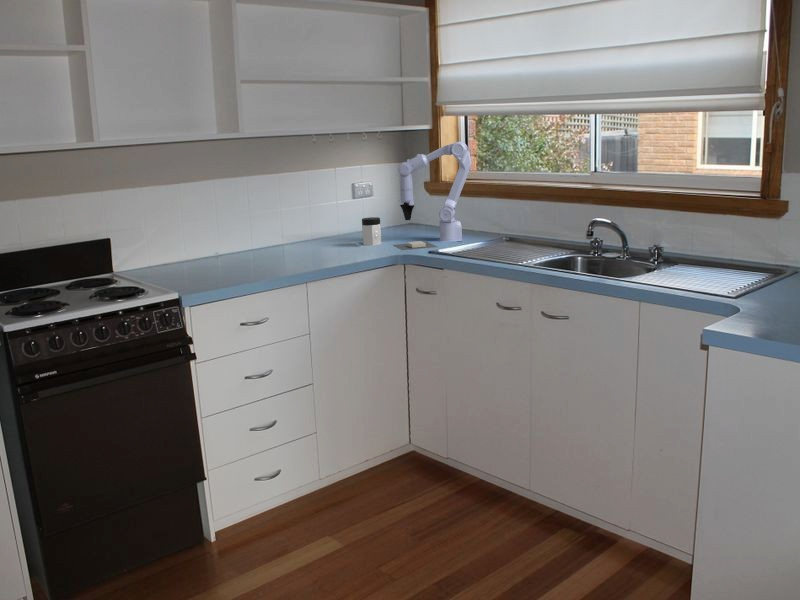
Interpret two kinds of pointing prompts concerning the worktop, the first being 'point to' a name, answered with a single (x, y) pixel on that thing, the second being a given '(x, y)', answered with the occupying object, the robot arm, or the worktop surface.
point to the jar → (371, 231)
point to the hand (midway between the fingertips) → (407, 220)
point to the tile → (416, 244)
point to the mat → (406, 247)
